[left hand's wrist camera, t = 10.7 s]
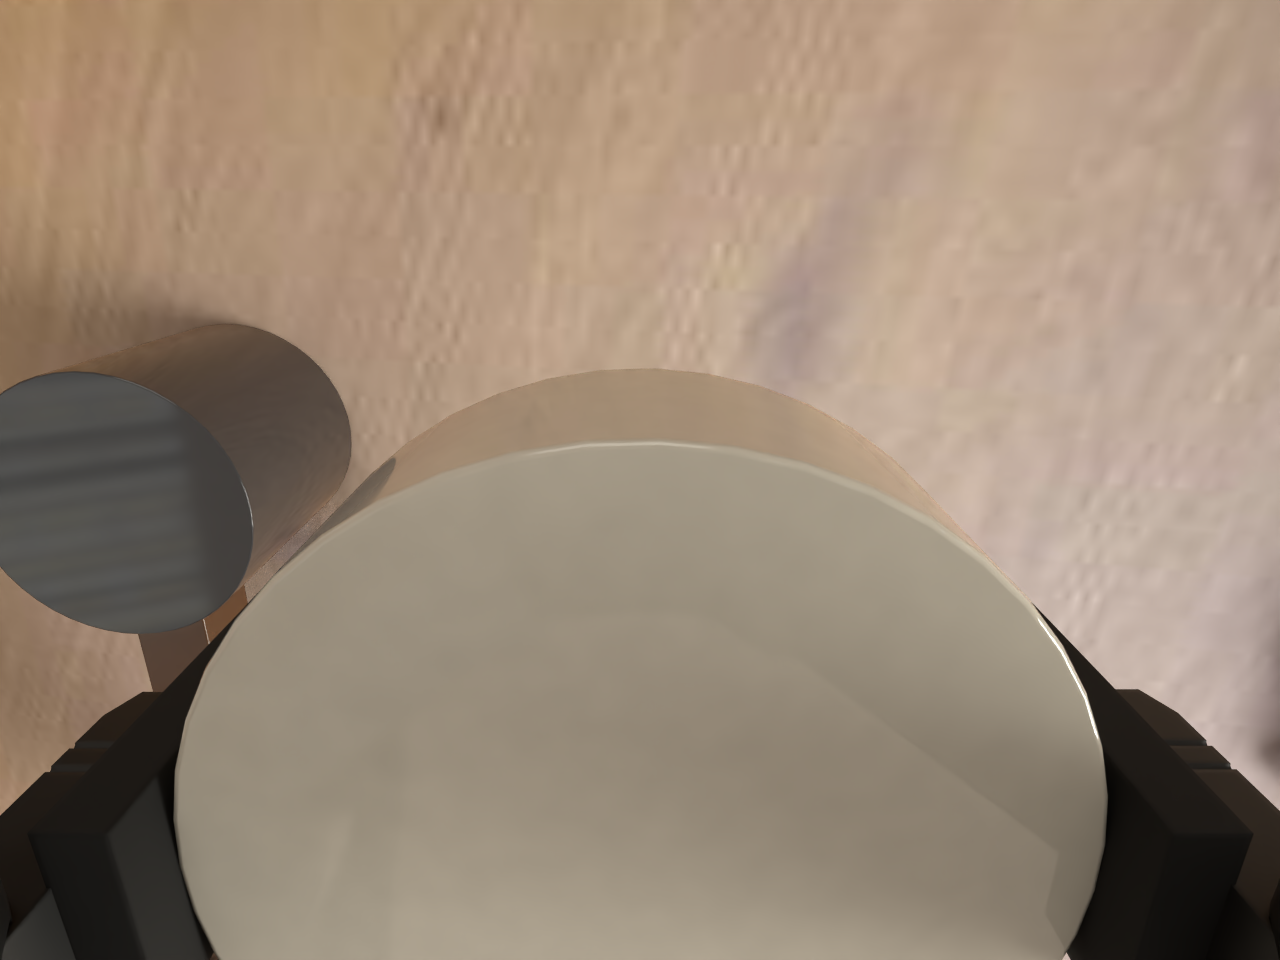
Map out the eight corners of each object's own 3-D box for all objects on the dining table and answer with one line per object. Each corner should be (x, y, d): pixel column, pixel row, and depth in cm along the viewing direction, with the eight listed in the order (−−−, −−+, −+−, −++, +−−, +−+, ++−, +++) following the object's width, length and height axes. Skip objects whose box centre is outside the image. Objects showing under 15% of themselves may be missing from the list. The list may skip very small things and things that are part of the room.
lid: (500, 202, 9) (434, 206, 6) (1140, 611, 11) (1321, 761, 8) (187, 795, 12) (45, 984, 9) (730, 1035, 14) (754, 1255, 11)
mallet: (114, 323, 31) (-79, 371, 23) (336, 323, 31) (224, 371, 23) (225, 794, 40) (113, 956, 31) (400, 794, 40) (335, 956, 31)
